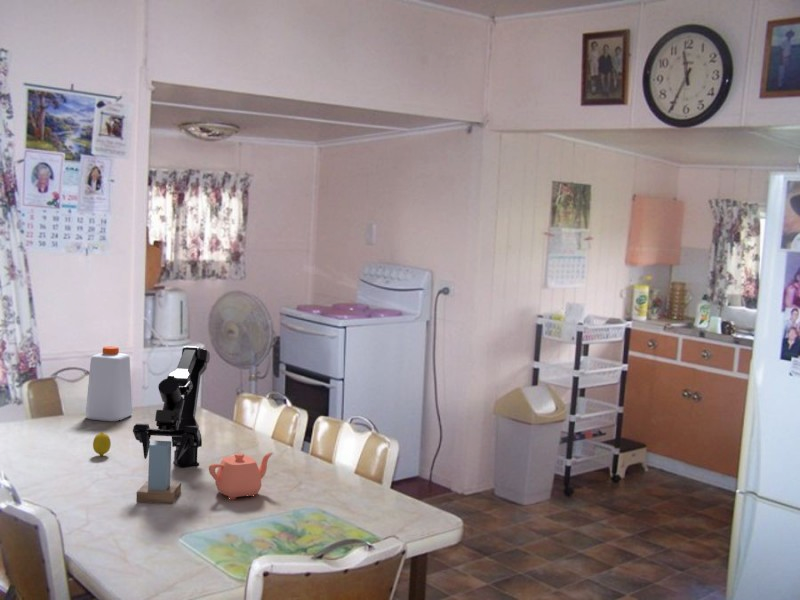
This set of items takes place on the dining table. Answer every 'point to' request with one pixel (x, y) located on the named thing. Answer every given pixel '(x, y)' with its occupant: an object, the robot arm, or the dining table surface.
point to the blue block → (159, 465)
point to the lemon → (101, 443)
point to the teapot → (239, 475)
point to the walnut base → (158, 494)
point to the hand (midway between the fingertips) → (161, 458)
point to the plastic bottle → (109, 386)
